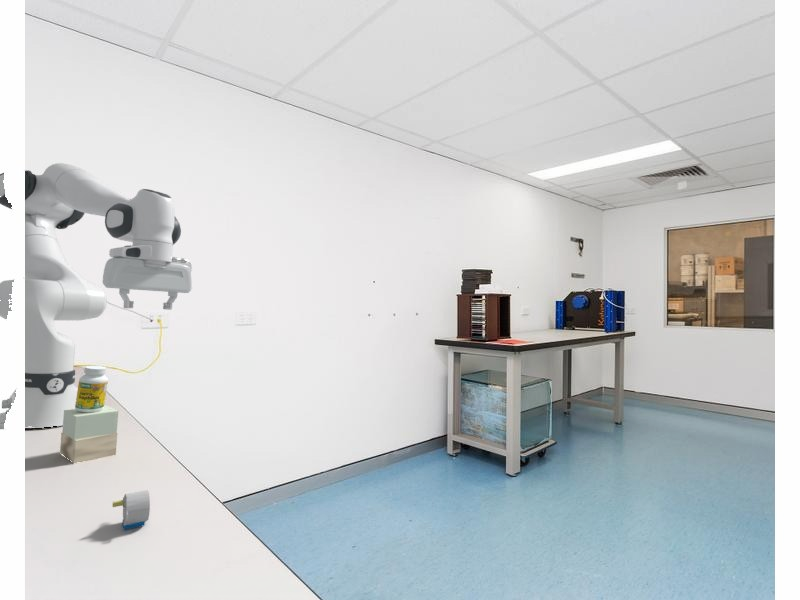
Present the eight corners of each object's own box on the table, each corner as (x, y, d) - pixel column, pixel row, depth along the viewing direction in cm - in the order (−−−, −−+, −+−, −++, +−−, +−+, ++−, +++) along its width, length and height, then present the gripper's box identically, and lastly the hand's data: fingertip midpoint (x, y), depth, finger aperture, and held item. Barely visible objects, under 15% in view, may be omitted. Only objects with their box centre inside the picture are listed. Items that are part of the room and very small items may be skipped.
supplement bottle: (105, 406, 101) (112, 365, 101) (100, 413, 96) (107, 370, 96) (78, 405, 99) (84, 363, 99) (71, 412, 94) (78, 368, 94)
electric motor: (109, 520, 70) (111, 489, 70) (143, 513, 73) (145, 483, 73) (112, 540, 64) (115, 506, 64) (149, 531, 67) (151, 499, 67)
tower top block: (62, 432, 97) (64, 409, 97) (103, 425, 103) (105, 404, 103) (74, 440, 92) (76, 416, 92) (116, 433, 98) (118, 411, 98)
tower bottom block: (59, 455, 96) (61, 432, 96) (100, 446, 103) (102, 425, 103) (74, 464, 92) (75, 440, 92) (115, 455, 98) (117, 432, 98)
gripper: (185, 259, 120) (182, 309, 119) (101, 248, 103) (97, 306, 102) (198, 259, 116) (194, 310, 116) (113, 247, 99) (109, 308, 99)
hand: (148, 308), depth 109 cm, fingers open, 8 cm apart
